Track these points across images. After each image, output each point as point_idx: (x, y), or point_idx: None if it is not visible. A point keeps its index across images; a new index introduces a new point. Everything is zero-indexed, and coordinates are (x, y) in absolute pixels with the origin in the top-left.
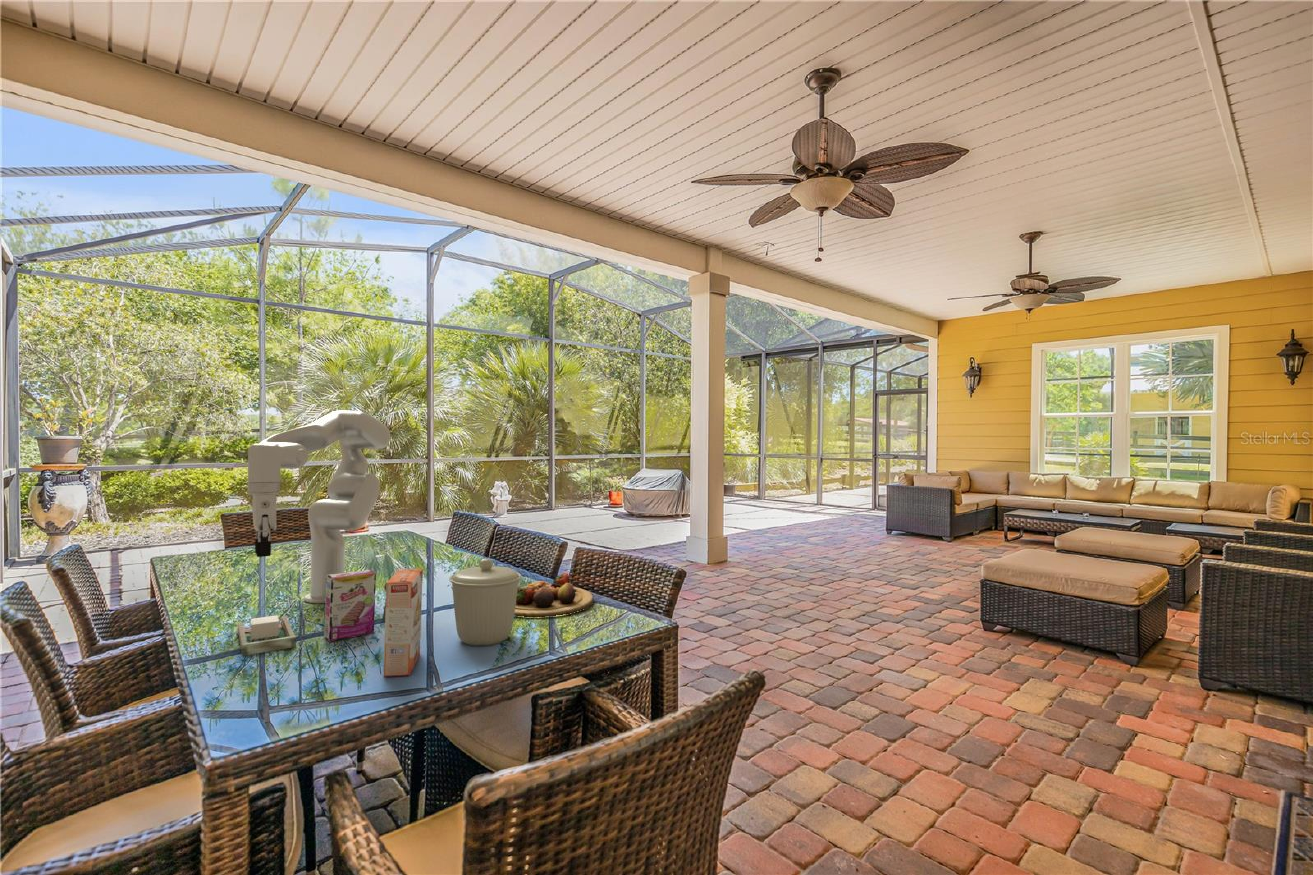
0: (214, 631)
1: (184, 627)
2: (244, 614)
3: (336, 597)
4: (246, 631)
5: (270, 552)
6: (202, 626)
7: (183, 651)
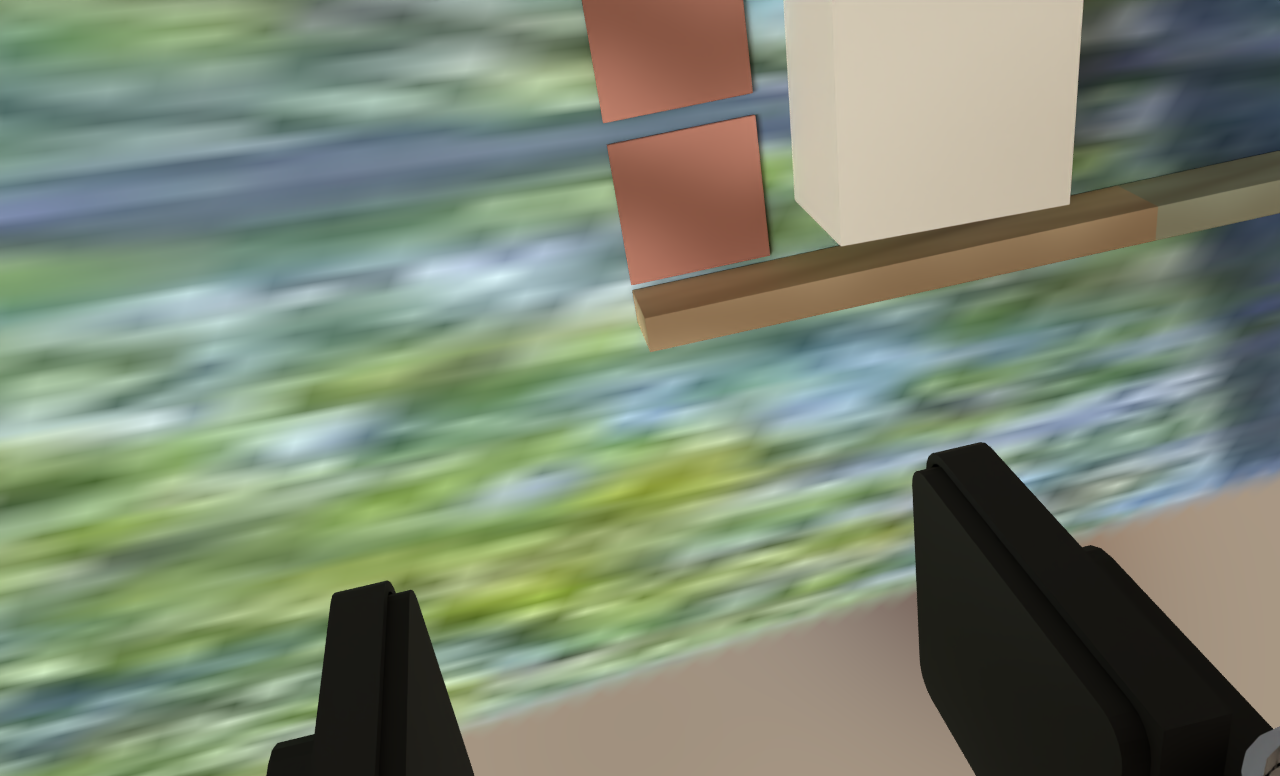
0: (602, 480)
1: None
2: (50, 370)
3: None
4: (738, 241)
5: (1012, 484)
6: None
7: None
